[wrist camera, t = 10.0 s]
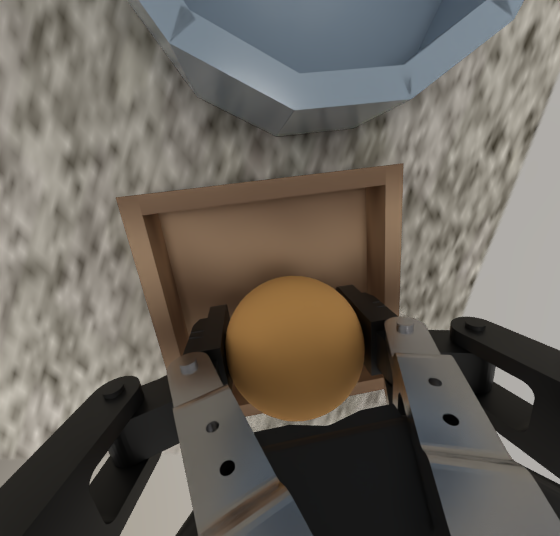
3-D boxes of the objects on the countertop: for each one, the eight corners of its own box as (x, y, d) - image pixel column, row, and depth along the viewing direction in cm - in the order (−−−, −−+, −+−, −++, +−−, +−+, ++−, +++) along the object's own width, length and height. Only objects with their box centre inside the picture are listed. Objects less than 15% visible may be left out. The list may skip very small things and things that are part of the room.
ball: (218, 269, 12) (202, 330, 7) (333, 252, 12) (396, 298, 7) (238, 368, 13) (235, 475, 8) (338, 349, 14) (392, 440, 9)
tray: (142, 194, 13) (115, 197, 11) (371, 167, 14) (403, 163, 12) (193, 388, 17) (184, 429, 14) (372, 354, 18) (397, 386, 15)
